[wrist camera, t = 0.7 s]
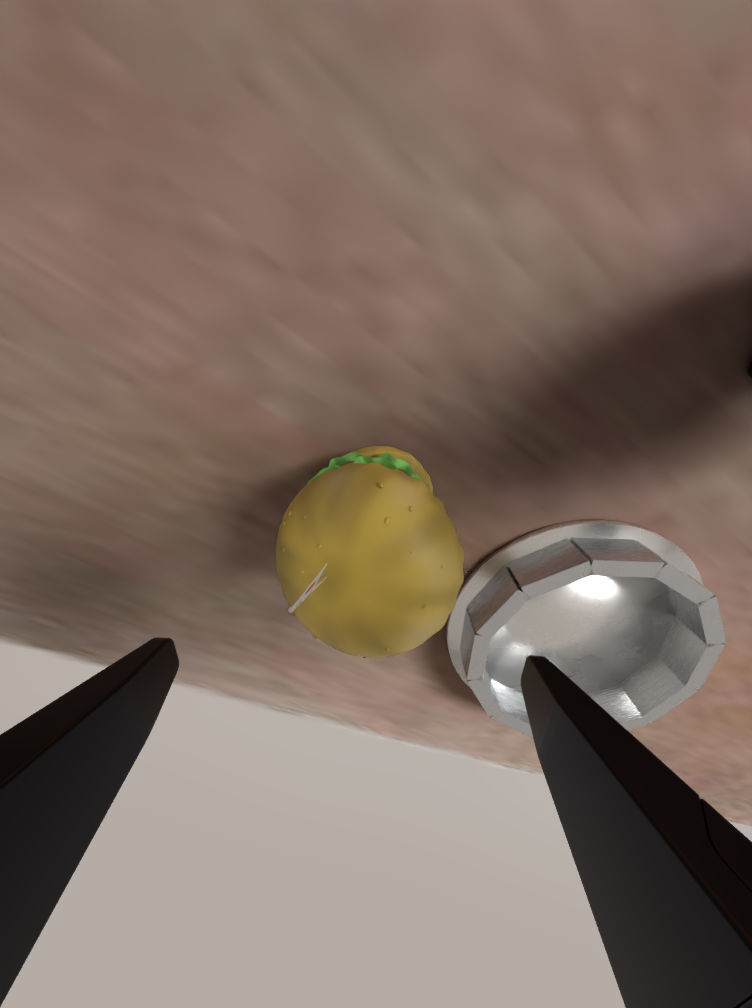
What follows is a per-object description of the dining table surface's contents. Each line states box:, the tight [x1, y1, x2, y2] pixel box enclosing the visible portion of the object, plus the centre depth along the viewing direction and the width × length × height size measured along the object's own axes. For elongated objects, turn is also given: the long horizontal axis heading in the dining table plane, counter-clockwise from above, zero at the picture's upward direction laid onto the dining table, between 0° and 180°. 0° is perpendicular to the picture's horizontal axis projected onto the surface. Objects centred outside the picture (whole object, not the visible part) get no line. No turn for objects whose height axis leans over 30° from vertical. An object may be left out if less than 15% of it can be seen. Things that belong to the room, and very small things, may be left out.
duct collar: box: [446, 519, 726, 738], centre depth 23 cm, size 17×17×3 cm
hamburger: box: [276, 446, 464, 658], centre depth 15 cm, size 8×7×12 cm
